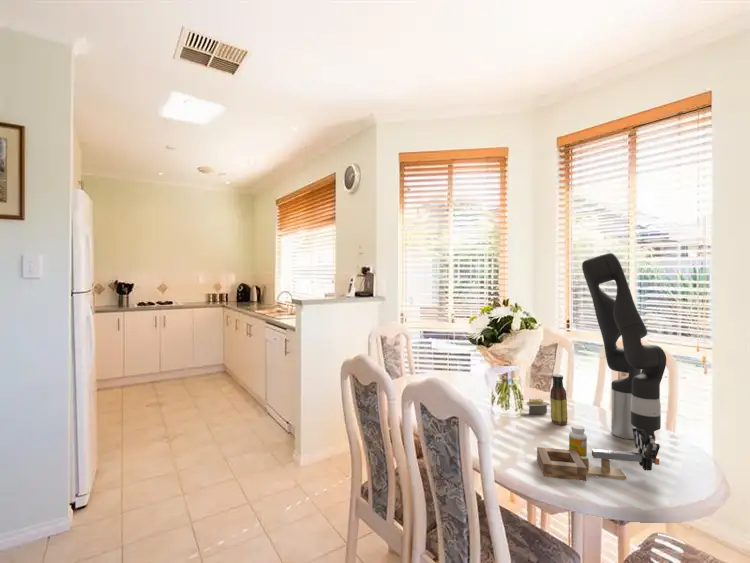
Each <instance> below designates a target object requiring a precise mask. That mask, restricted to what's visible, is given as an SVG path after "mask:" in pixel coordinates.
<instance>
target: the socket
mask: <svg viewBox="0 0 750 563" xmlns="http://www.w3.org/2000/svg"><path fill="white" fill-rule="evenodd" d="M536 460H537V462H538V465H539V468H540V471H541V474H542V476H543V477H544V478H554V479H562V480H563V479H564V480H574V481H581V480H582V481H583V482H587V476H586V466H585V465H584V463H583V461H582V460H581V458H580V456H579V455H578V453H577V451H576V450H569V449H564V448H563V449H562V448H553V447H552V448H551V447H541V446H537V447H536Z"/></svg>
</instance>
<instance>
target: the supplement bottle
mask: <svg viewBox="0 0 750 563" xmlns="http://www.w3.org/2000/svg"><path fill="white" fill-rule="evenodd" d="M570 430H571V431H569V433H568V440H569V441H568V443H569V444H568V450H576V451H577V453H578V455H579V456H583V457H588V455H587V453H588V450H587V448H588V447H587V445H588V442H587V440H588V436H587V434H586V433H585V431H586V430H585V426H583V425H579V424H572V425H571V428H570Z"/></svg>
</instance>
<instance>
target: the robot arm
mask: <svg viewBox="0 0 750 563" xmlns="http://www.w3.org/2000/svg"><path fill="white" fill-rule="evenodd" d="M581 269H582V273H583V276H584V278H585V283H586V285H587V287H588V291H589V293H590V295H591V296H590V297H591V299H592V302H593V308H594V312H595V317H596V320H597V324H598V327H599V330H600V333H601V334H600V335H601V337H602V341H603V347H604V353H605V358H606V364H607V366H608V368H609V369H610V370H612V371H614V372H621V373H627V374H628V376H627V377H625V378H620V379H614V380H612V382H611V390H610V391H611V392H610V393H611V394H610V395H611V397H610V398H611V401H610V402H611V404H610V405H611V406H610V407H611V411H610V412H611V420H610V421H611V422H610V423H611V424H610V425H611V434H612V435H614V436H615V437H618V438H620V439H625V440H634V445H635V448H636V449H637V453H642V456H643V462H638V464H639V465H640V466H641V467H642V469H643V470H644V471H649V472H650V471H652V468H653V463H652V459H656V457H657V456H658V454H659V451H660V448H661V447H660V446H661V445H660V444H659V443H656V435H655V432H656V431H659V430H661V428H662V427H661V426H662V425H661V423H662V422H661V421H662V420H661V415H662V413H661V412H662V410H661V409H662V407H661V406H662V405H661V392H660V391H661V387H660V386H661V381H662V379H663V376H664V373H665V370H666V366H667V355H666V352H665V351H664V349H663V348H662V347H661V346H659V345H657V344H642V339H643V338H645V337H646V336H647V334H648V329H647V327H646V325H645V323H644V322H643V319H642V318H641V315H640V314H639V311H638V309H637V307H636V305H635V301H634V298H633V295H632V292H631V289H630V286H629V283H628V280H627V278H626V275H625V272H624V270H623V266H622V264H621V262H620V260H619V258H618V257H617V256H616V254H614V253H612V252H607V253H604V254H600V255H597V256H595V257H594V256H593V257H592V258H588V259H586V260H584V261H583V262H582V263H581ZM611 281H614V282H615V286H616V295H615V296H616V297H615V298H614V297H611V295H609V294H607V293H606V292H605V291H604V290H602V288H601V287H600V285H602V284H605V283H608V282H611ZM620 337H621V341H622V347H619V346H618V345H617V342H618V340H619V338H620Z"/></svg>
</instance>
